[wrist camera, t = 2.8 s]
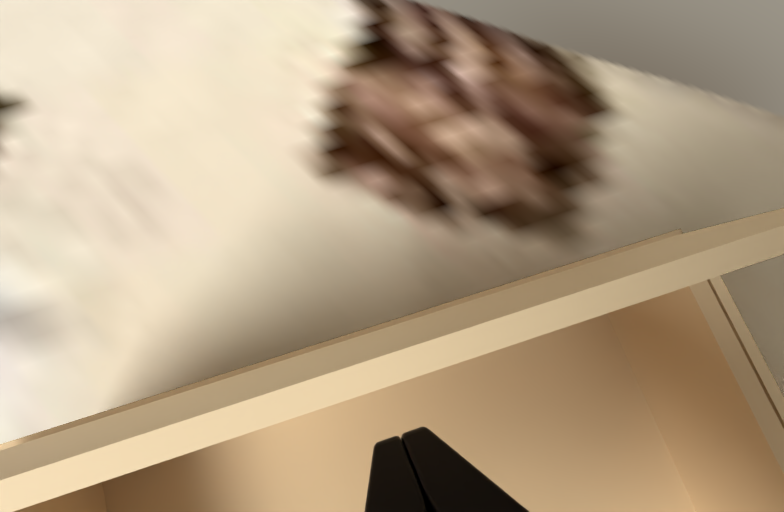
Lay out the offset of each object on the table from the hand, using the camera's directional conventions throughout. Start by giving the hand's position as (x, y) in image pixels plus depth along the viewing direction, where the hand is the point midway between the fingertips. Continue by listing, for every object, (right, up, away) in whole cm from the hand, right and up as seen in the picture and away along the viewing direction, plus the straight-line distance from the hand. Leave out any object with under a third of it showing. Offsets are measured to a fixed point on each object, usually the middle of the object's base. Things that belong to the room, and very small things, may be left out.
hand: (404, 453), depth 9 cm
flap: (-1, +1, +4) cm, 4 cm away
